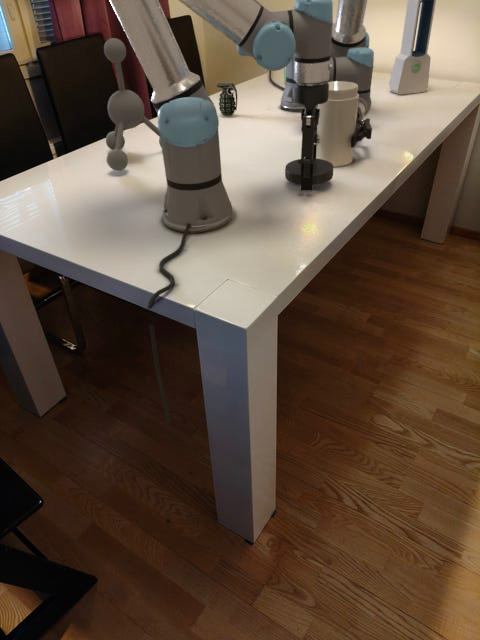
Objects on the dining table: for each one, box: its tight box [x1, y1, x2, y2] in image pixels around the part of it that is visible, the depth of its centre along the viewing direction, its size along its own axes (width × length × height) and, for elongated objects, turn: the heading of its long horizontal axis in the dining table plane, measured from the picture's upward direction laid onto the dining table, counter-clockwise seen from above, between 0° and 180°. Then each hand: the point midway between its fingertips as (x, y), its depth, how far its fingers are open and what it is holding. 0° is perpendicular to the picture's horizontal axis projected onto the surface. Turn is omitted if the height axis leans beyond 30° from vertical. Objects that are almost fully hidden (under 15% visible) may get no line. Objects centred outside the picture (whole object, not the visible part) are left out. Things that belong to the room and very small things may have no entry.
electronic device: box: [388, 0, 437, 96], centre depth 174 cm, size 12×8×30 cm, turn 105°
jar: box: [314, 81, 359, 168], centre depth 126 cm, size 10×10×18 cm
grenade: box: [215, 82, 238, 117], centre depth 166 cm, size 7×6×10 cm
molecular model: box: [103, 37, 162, 172], centre depth 131 cm, size 24×22×30 cm
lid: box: [284, 158, 334, 186], centre depth 117 cm, size 11×11×2 cm
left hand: (308, 180), depth 118 cm, fingers closed on lid, 11 cm apart
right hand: (331, 140), depth 124 cm, fingers closed on jar, 10 cm apart
